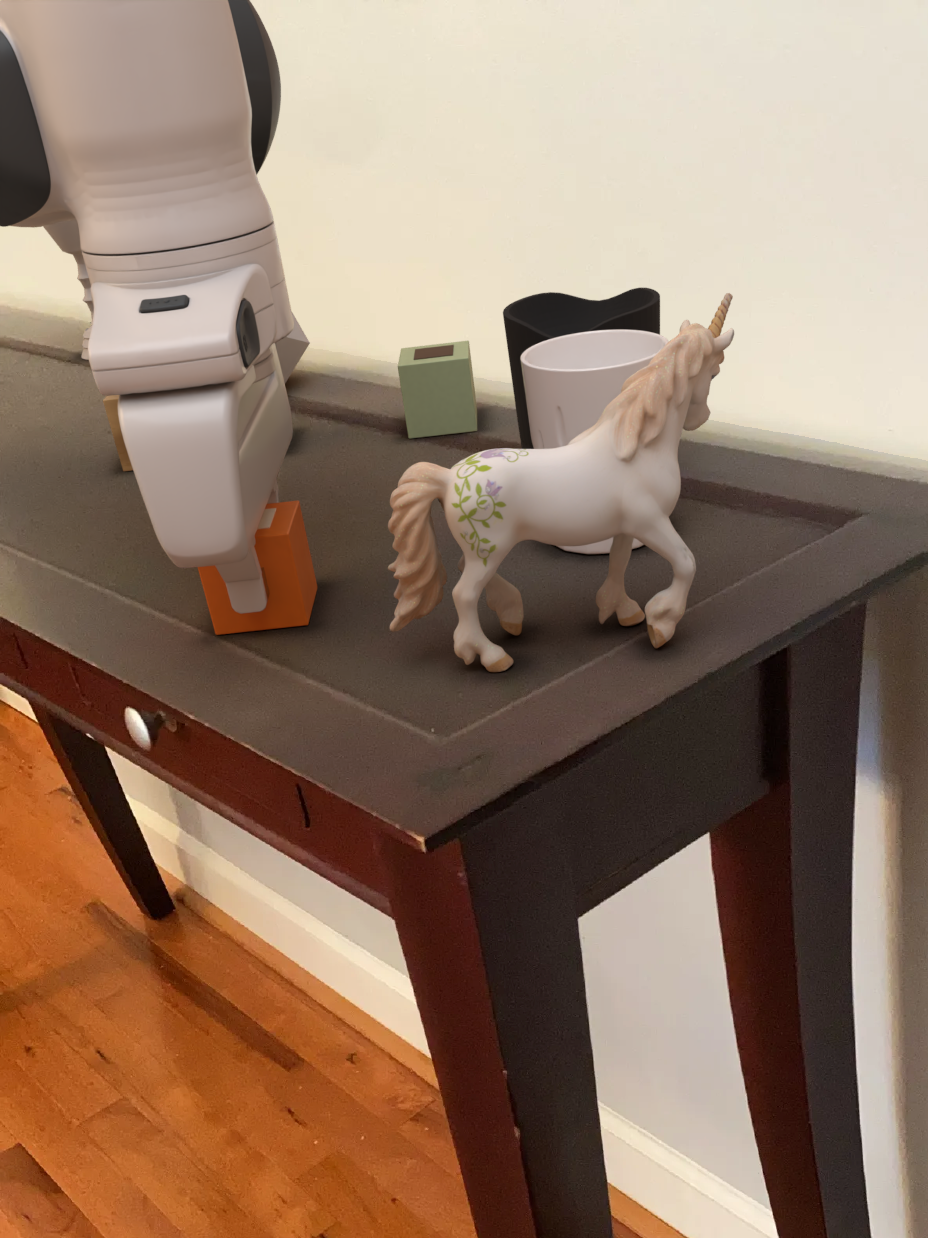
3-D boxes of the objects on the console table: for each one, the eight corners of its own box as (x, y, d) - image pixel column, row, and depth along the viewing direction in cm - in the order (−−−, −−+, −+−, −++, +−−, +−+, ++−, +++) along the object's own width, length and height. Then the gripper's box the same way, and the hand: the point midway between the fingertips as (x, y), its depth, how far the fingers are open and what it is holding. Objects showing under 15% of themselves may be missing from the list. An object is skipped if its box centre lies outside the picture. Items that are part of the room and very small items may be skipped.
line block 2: (408, 438, 92) (397, 364, 89) (411, 418, 96) (400, 347, 92) (477, 431, 91) (468, 356, 88) (477, 411, 95) (468, 339, 92)
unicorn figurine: (807, 610, 62) (818, 317, 54) (442, 720, 57) (393, 415, 49) (730, 564, 68) (730, 291, 60) (390, 661, 63) (338, 377, 55)
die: (212, 391, 111) (148, 309, 102) (286, 318, 110) (228, 230, 101) (266, 442, 107) (205, 363, 98) (342, 367, 107) (288, 281, 98)
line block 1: (123, 471, 92) (102, 399, 89) (137, 450, 96) (118, 380, 93) (190, 463, 92) (171, 391, 89) (202, 442, 96) (184, 372, 93)
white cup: (511, 549, 73) (491, 365, 67) (583, 501, 78) (570, 326, 72) (631, 567, 69) (621, 374, 63) (698, 516, 74) (695, 332, 68)
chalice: (125, 339, 128) (69, 130, 117) (156, 347, 124) (100, 131, 113) (58, 357, 125) (-7, 144, 114) (87, 366, 120) (22, 145, 109)
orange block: (215, 635, 67) (190, 542, 64) (230, 597, 71) (207, 508, 68) (308, 625, 67) (287, 532, 64) (317, 588, 71) (299, 498, 68)
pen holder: (575, 508, 77) (562, 331, 71) (492, 474, 83) (473, 310, 77) (695, 467, 81) (692, 295, 74) (607, 438, 87) (597, 277, 81)
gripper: (171, 267, 68) (233, 520, 77) (75, 366, 52) (167, 672, 60) (287, 253, 68) (336, 508, 76) (227, 348, 52) (298, 658, 60)
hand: (261, 582), depth 68 cm, fingers closed on orange block, 5 cm apart
